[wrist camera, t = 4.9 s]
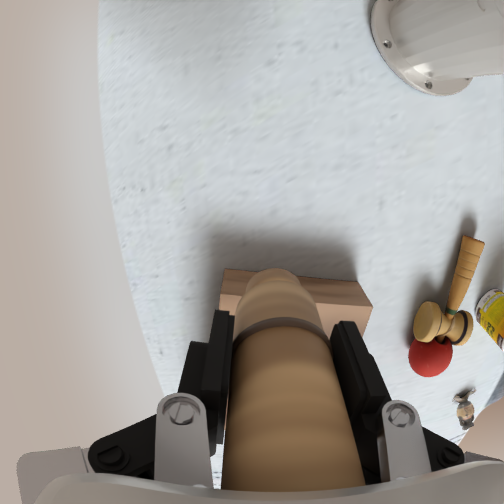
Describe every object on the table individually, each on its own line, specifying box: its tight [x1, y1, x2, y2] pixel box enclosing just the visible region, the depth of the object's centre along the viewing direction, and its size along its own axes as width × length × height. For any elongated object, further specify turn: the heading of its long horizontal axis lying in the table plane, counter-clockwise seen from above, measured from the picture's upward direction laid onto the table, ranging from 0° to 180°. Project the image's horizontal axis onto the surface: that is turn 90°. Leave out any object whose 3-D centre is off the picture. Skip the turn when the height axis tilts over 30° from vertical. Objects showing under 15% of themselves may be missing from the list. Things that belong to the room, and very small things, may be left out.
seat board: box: [219, 269, 373, 430], centre depth 33 cm, size 20×14×5 cm
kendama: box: [408, 235, 485, 377], centre depth 31 cm, size 8×6×18 cm
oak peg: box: [221, 268, 366, 492], centre depth 10 cm, size 4×4×12 cm
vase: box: [453, 390, 476, 430], centre depth 39 cm, size 5×5×6 cm
